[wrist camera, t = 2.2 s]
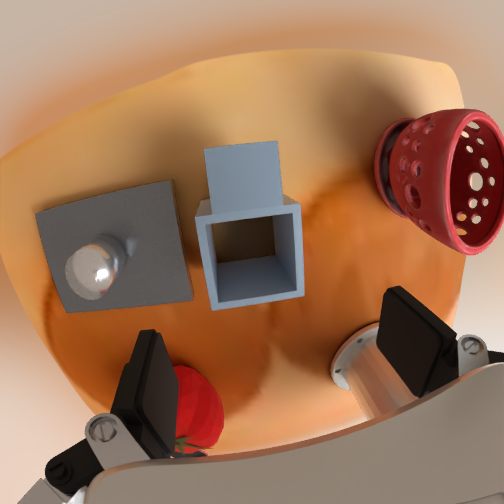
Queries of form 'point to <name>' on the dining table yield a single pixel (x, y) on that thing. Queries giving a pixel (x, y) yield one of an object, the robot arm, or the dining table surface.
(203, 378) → the tomato
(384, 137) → the plant pot
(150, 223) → the duct base
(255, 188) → the elbow
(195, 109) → the dining table surface
